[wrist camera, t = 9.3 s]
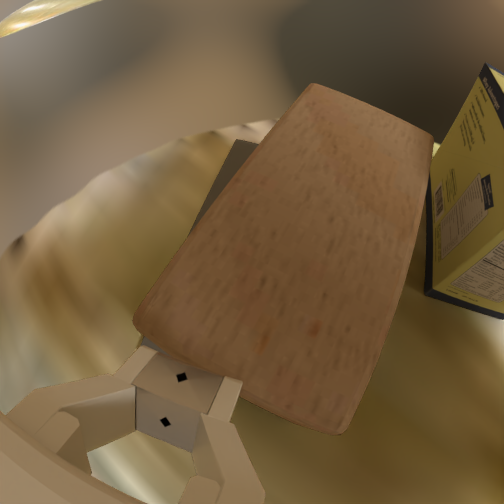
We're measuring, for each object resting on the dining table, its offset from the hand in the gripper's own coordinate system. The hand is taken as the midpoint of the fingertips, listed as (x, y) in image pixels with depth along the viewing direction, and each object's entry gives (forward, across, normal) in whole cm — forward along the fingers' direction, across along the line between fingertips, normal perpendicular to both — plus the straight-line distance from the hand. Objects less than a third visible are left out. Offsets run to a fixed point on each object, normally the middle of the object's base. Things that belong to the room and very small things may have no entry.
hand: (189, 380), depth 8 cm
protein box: (+23, -19, -4) cm, 30 cm away
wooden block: (+6, -1, +6) cm, 8 cm away
